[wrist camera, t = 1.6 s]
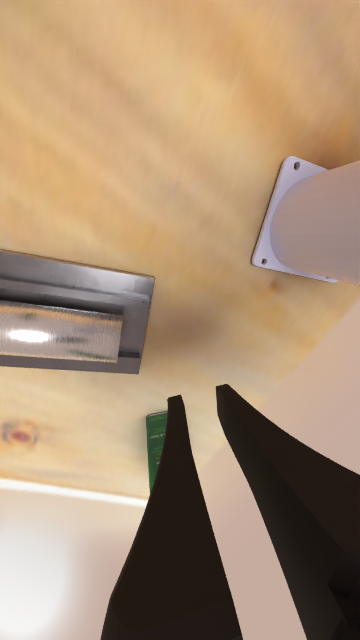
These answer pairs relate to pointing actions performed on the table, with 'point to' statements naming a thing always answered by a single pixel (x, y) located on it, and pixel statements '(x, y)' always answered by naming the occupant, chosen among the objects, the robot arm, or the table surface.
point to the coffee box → (155, 442)
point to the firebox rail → (79, 304)
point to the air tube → (58, 332)
